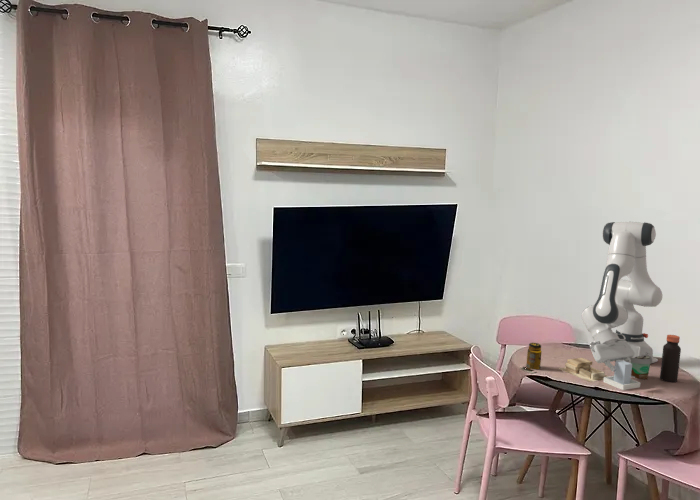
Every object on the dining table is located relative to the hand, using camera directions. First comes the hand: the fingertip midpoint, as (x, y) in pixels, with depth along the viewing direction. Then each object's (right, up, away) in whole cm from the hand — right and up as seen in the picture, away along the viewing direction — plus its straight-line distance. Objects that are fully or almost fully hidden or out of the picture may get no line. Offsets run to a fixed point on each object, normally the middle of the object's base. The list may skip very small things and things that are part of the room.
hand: (622, 369), depth 244 cm
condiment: (-33, -4, +19) cm, 38 cm away
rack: (-10, -5, +13) cm, 18 cm away
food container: (+14, -7, +11) cm, 19 cm away
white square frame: (0, -7, +1) cm, 7 cm away
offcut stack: (-12, -4, +17) cm, 21 cm away
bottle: (+26, -7, +11) cm, 29 cm away
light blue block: (0, -7, +1) cm, 7 cm away
